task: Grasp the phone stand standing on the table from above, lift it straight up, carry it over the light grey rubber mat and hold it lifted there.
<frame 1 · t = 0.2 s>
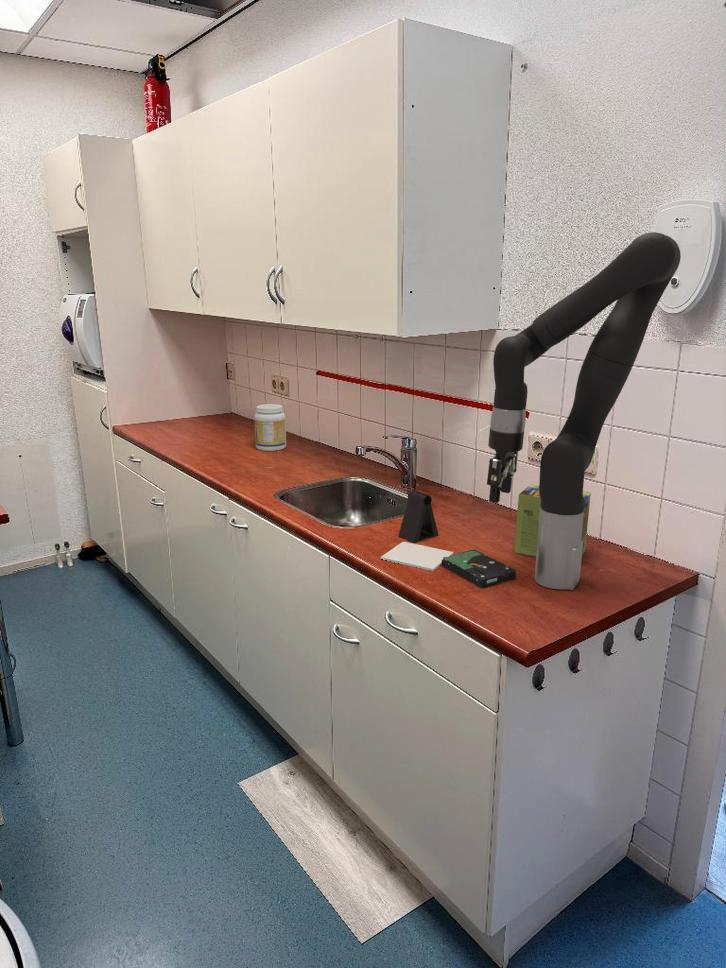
hand: (499, 497, 157), 18 cm above the worktop, tool pointing down, fingers open, 8 cm apart
disk drive: (477, 574, 160), on the worktop
supplement tub: (271, 448, 276), on the worktop
phone stand: (418, 536, 182), on the worktop
protein box: (549, 552, 172), on the worktop
grey mat: (417, 556, 169), on the worktop
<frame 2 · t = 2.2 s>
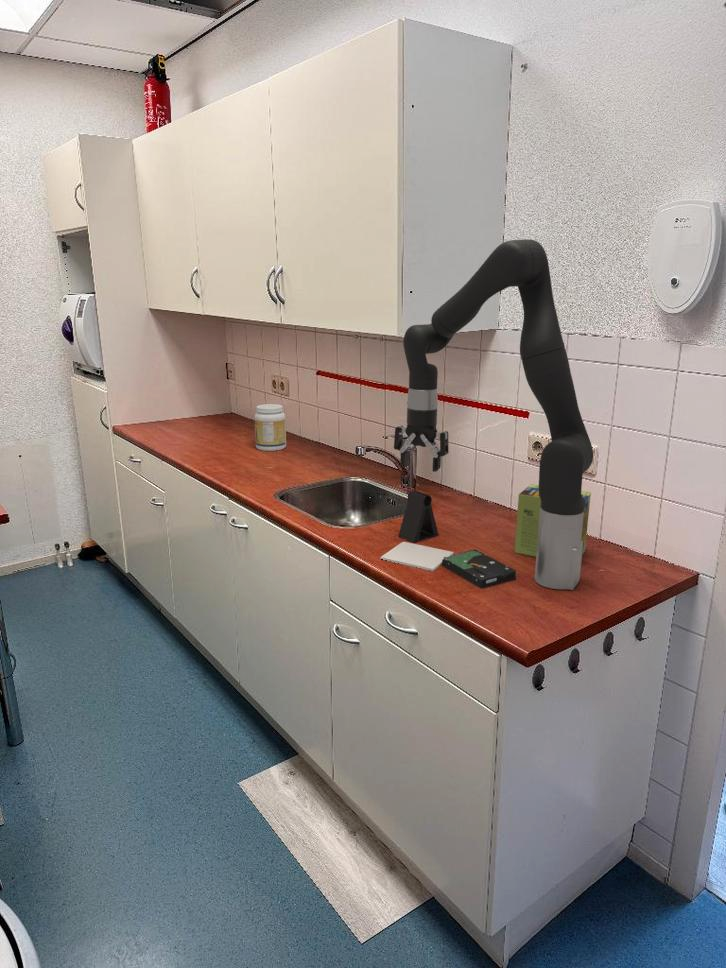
hand: (420, 468, 177), 18 cm above the worktop, tool pointing down, fingers open, 8 cm apart
nothing on the worktop moved.
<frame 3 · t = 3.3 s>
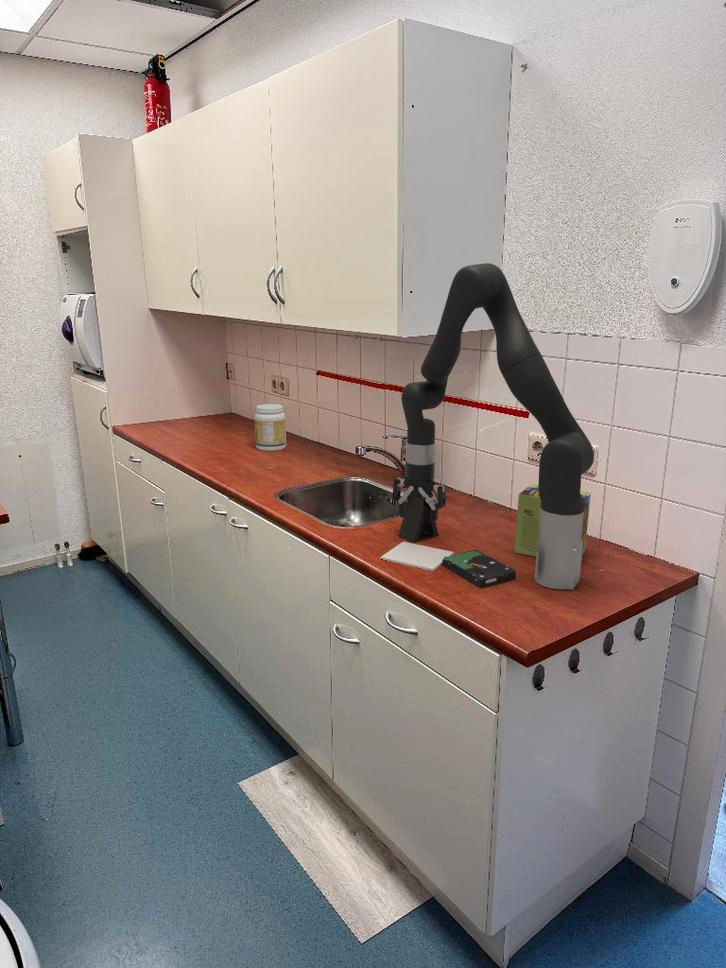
hand: (418, 519, 181), 5 cm above the worktop, tool pointing down, fingers open, 8 cm apart
nothing on the worktop moved.
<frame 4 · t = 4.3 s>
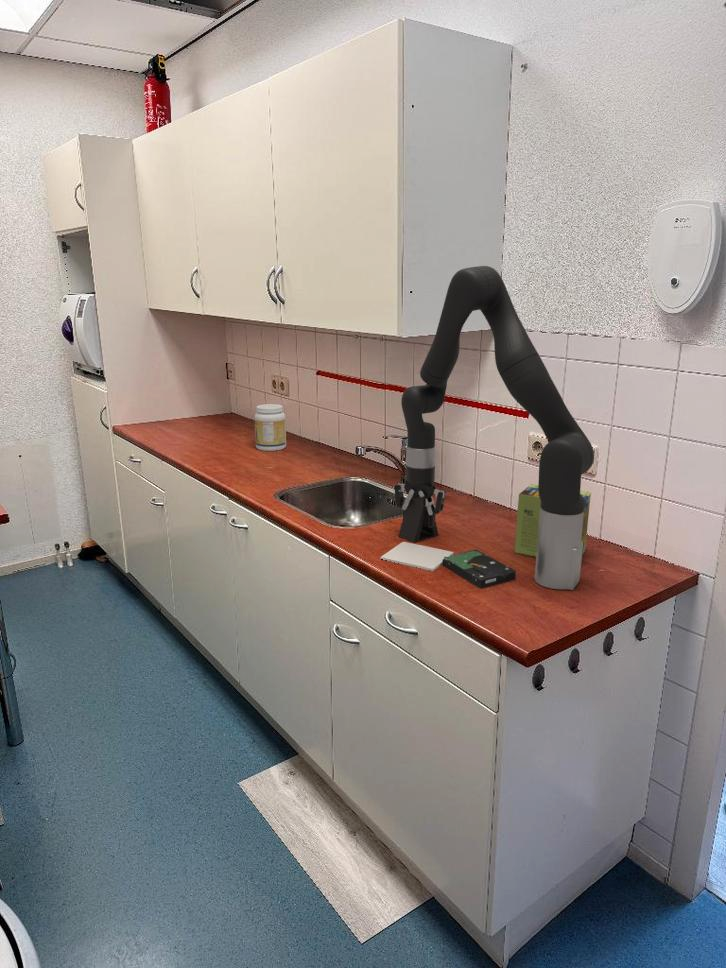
hand: (418, 524, 181), 3 cm above the worktop, tool pointing down, fingers closed on phone stand, 6 cm apart
phone stand: (418, 536, 182), on the worktop, touching gripper
everything else where it was.
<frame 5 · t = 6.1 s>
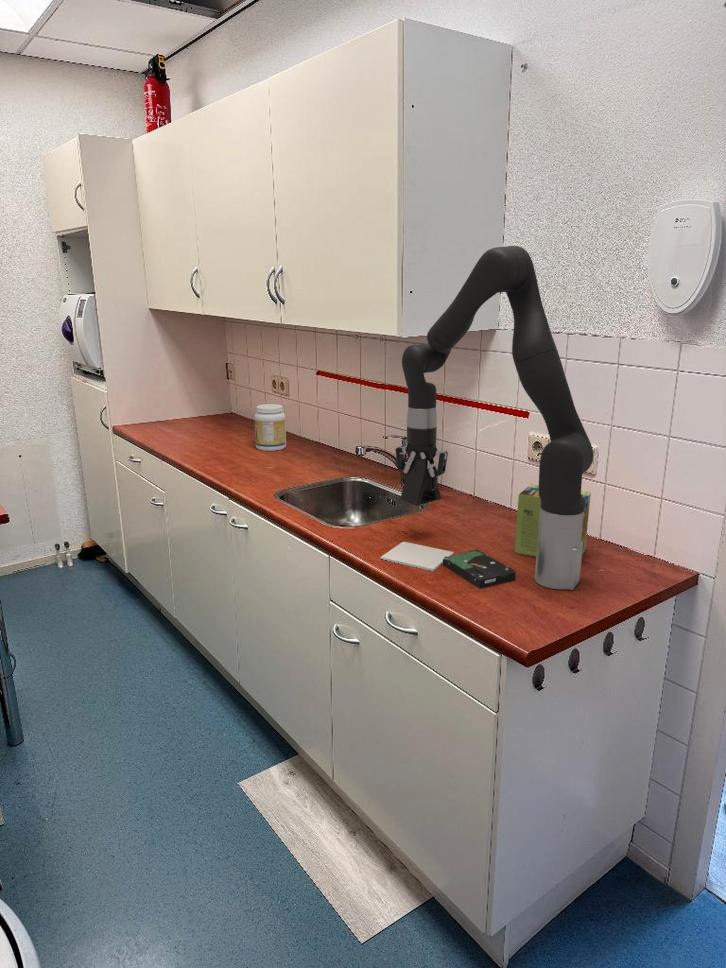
hand: (420, 488, 178), 13 cm above the worktop, tool pointing down, fingers closed on phone stand, 6 cm apart
phone stand: (420, 500, 179), point 10 cm above the worktop, touching gripper
everything else where it was.
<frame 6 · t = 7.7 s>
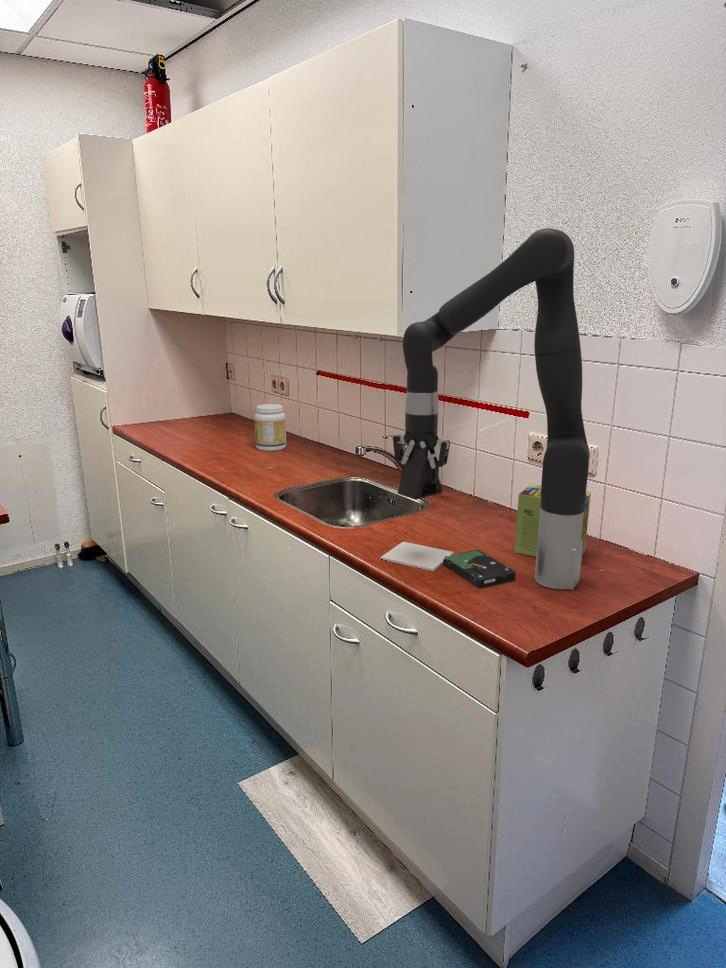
hand: (420, 480, 163), 19 cm above the worktop, tool pointing down, fingers closed on phone stand, 6 cm apart
phone stand: (419, 494, 164), point 16 cm above the worktop, touching gripper
everything else where it was.
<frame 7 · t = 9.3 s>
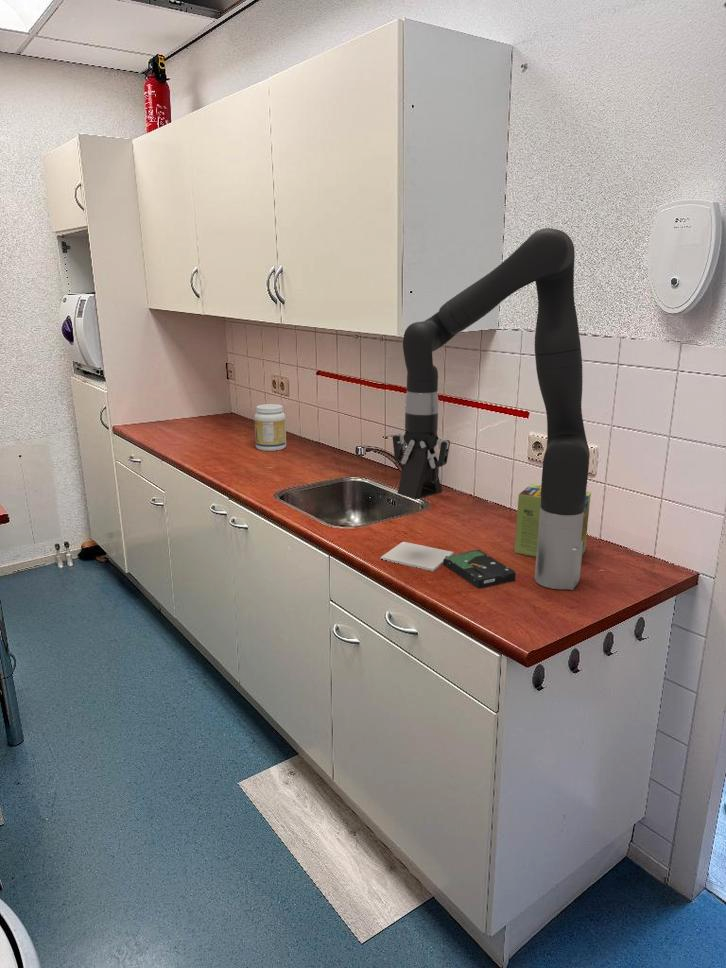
hand: (419, 480, 163), 19 cm above the worktop, tool pointing down, fingers closed on phone stand, 6 cm apart
phone stand: (419, 494, 164), point 16 cm above the worktop, touching gripper
everything else where it was.
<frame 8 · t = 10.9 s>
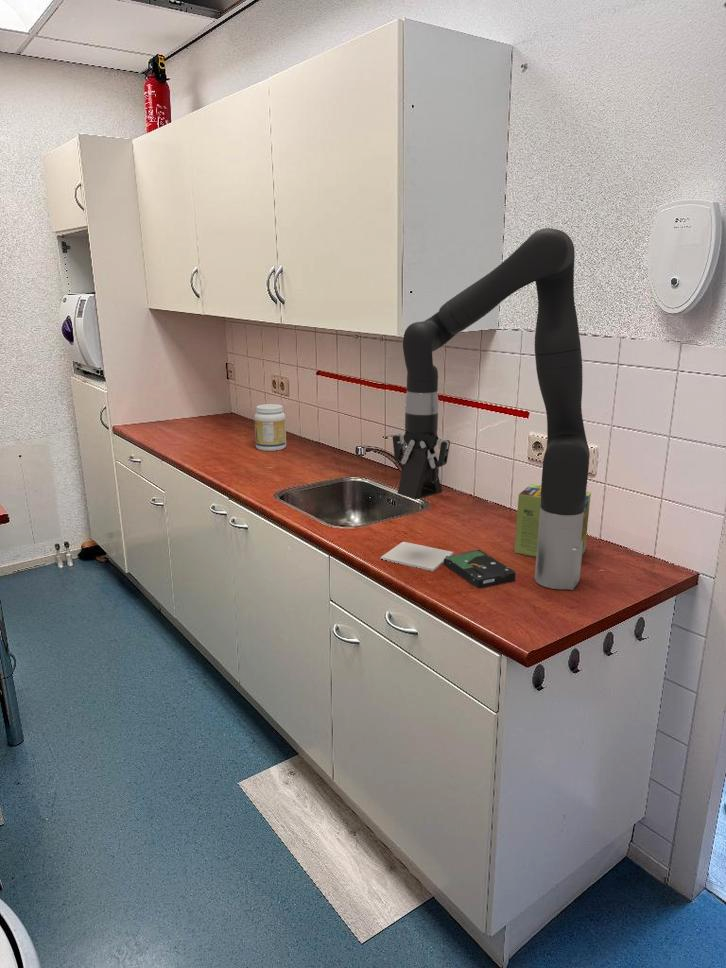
hand: (419, 480, 163), 19 cm above the worktop, tool pointing down, fingers closed on phone stand, 6 cm apart
phone stand: (419, 494, 164), point 16 cm above the worktop, touching gripper
everything else where it was.
at the end: the gripper is holding phone stand; phone stand point 16.1 cm above the worktop; phone stand 0.1 cm from the grey mat (horizontally) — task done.
